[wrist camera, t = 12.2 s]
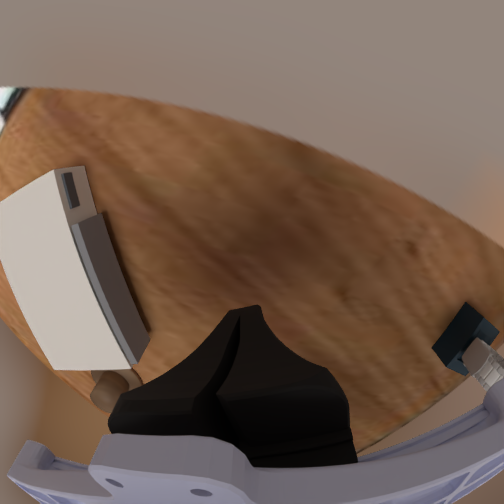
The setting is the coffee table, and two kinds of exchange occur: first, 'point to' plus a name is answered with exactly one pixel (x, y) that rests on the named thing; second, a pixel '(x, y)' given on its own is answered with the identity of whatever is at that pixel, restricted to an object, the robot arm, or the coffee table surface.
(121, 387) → the stand
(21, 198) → the player
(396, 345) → the coffee table surface
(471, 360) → the watch
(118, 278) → the tray
